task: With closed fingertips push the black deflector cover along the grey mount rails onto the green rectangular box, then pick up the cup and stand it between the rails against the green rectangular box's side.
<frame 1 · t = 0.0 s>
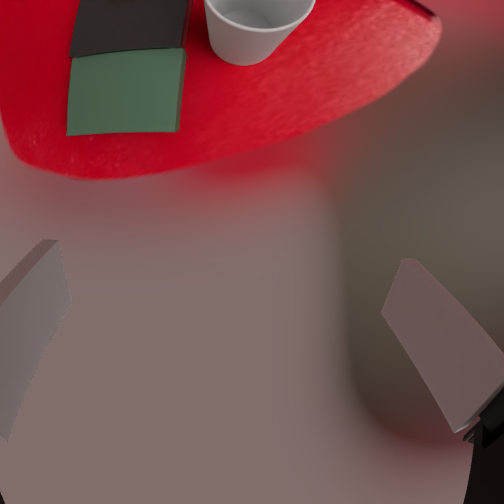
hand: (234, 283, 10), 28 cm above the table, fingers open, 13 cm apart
green rectangular box: (128, 92, 29), on the table
cover: (125, 5, 19), point 6 cm above the table, slide at 0.0 cm
cup: (243, 36, 28), on the table
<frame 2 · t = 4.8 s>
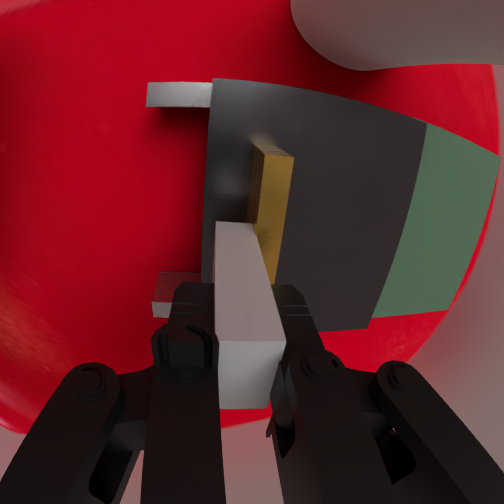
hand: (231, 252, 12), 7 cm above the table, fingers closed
green rectangular box: (415, 215, 20), on the table
cover: (321, 242, 13), point 6 cm above the table, slide at 0.1 cm, touching gripper
bracket: (268, 200, 18), on the table
cup: (350, 16, 13), on the table
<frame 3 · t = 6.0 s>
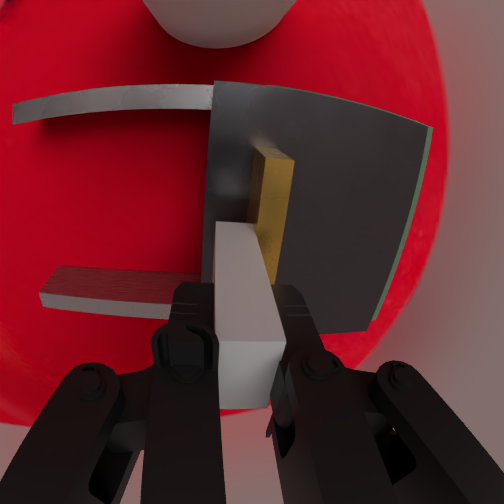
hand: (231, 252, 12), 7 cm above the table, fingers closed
green rectangular box: (320, 207, 19), on the table
cover: (322, 245, 13), point 6 cm above the table, slide at 8.5 cm, touching gripper
bracket: (136, 196, 17), on the table
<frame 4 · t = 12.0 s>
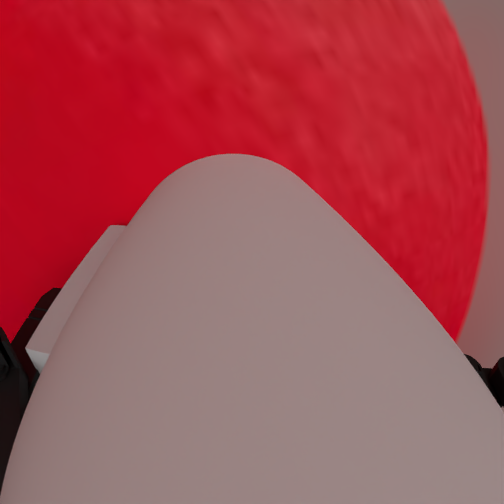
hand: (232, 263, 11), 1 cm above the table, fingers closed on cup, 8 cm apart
cup: (231, 251, 12), on the table, touching gripper
when the fingers open (3 cm above the table, at t = 17.6 s): cup drops 2 cm, on the table.
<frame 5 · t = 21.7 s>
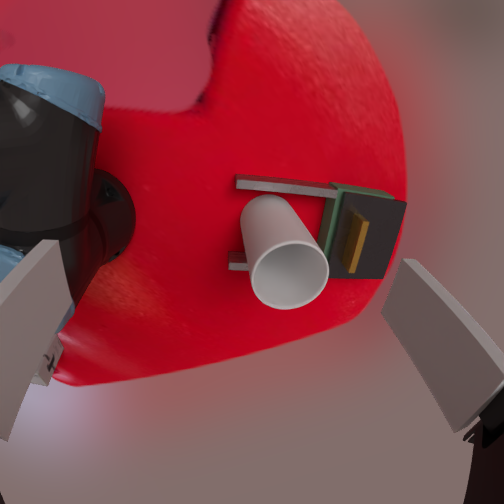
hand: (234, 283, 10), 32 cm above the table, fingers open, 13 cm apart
green rectangular box: (348, 227, 45), on the table
cover: (370, 243, 40), point 6 cm above the table, slide at 11.7 cm
bracket: (277, 221, 44), on the table
ink box: (47, 339, 51), on the table
cup: (267, 220, 43), on the table
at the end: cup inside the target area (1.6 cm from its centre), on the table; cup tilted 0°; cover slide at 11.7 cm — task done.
